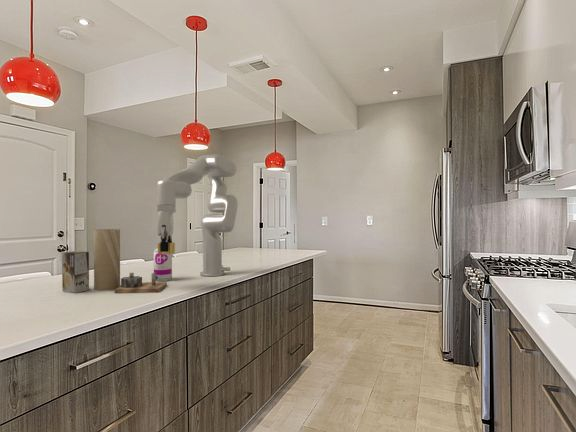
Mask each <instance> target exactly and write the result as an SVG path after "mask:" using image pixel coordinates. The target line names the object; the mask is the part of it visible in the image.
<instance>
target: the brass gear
mask: <svg viewBox="0 0 576 432" xmlns="http://www.w3.org/2000/svg"><path fill="white" fill-rule="evenodd" d="M157 249H158V254H172V255H173V254H176V243H175V242H173V241H172V243H171V242H169V244H168V252H161V251H160V242H158V243H157Z"/></svg>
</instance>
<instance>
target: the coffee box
mask: <svg viewBox="0 0 576 432" xmlns="http://www.w3.org/2000/svg"><path fill="white" fill-rule="evenodd" d="M89 254H90V253H89V251H83V250H82V251H81V250H73V251H71V250H70V251H64V252H63V251H62V252H61V261H62V262H61V267H62V269H61V271H62V272H61V273H62V275H61V276H62V281H61V283H62V284H61V285H62V286H61V287H62V291H63V292H67V293H74V294H77V293H81V292H86V291H90V255H89Z"/></svg>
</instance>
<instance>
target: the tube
mask: <svg viewBox="0 0 576 432" xmlns="http://www.w3.org/2000/svg"><path fill="white" fill-rule="evenodd" d="M120 286H121V229H118V228H117V229H116V228H115V229H114V228H113V229H111V228H109V229H107V228H106V229H105V228H104V229H102V228H101V229H94V230H93V290H94V291H100V292H101V291H112V290H114V289H116V288H118V287H120Z"/></svg>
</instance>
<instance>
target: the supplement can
mask: <svg viewBox="0 0 576 432" xmlns="http://www.w3.org/2000/svg"><path fill="white" fill-rule="evenodd" d="M153 273H156V282H167V281H171V280H172V279H173V254H158V248H154V251H153Z"/></svg>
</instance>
